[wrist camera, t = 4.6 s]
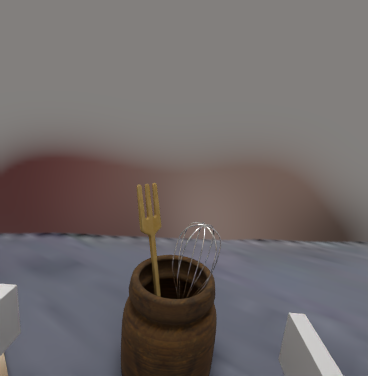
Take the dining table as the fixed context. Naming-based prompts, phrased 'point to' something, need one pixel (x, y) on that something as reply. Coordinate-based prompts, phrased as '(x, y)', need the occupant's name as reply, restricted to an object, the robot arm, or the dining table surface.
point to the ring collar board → (3, 366)
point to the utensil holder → (168, 308)
